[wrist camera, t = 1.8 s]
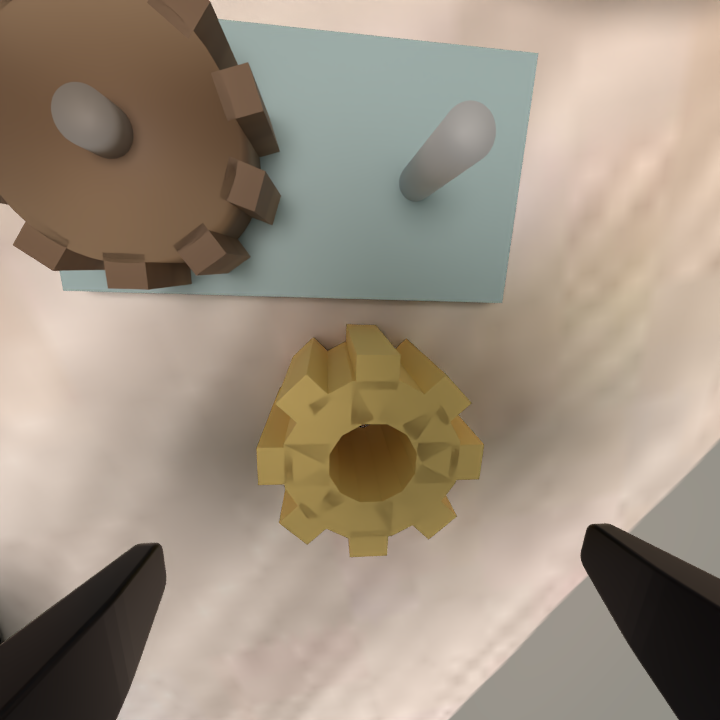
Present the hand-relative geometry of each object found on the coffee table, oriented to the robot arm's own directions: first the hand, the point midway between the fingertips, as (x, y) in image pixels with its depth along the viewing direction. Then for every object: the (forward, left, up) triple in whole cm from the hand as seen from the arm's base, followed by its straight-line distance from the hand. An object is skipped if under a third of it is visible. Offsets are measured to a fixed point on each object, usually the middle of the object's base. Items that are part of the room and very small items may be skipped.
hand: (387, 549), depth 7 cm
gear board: (+9, +2, -8) cm, 12 cm away
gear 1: (+9, +6, -7) cm, 13 cm away
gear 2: (0, 0, -8) cm, 8 cm away
